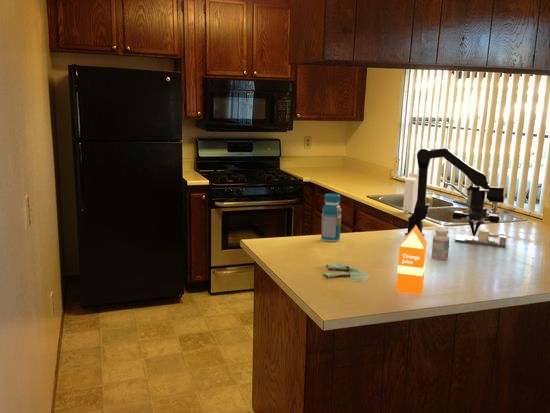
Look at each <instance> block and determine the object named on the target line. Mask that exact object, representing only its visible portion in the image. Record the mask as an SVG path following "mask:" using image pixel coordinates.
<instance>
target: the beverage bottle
mask: <svg viewBox="0 0 550 413" xmlns="http://www.w3.org/2000/svg"><path fill="white" fill-rule="evenodd" d="M339 203H341V195H340V194H339V193H325V194H324V205H323V207H322V209H321V210H322V214H321V236H320V239H321V241H324V242H330V243H334V242H339V241H340V240H341V228H342V226H341V225H342V224H341V222H342V214H341V212H342V208H341V205H340V204H339Z"/></svg>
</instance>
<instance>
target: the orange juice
mask: <svg viewBox="0 0 550 413" xmlns="http://www.w3.org/2000/svg"><path fill="white" fill-rule="evenodd" d="M422 234H423V233H422ZM422 234H421V232H420V231H419V229H418V227H417V226H416V225H415V227H414V228H413V229H412V230H411V232H410V233H409V234H408V235H406V236H405V237H404V238H403V239H402V240H401V242H400V244H399V246H398V247H399V249H398V262H397V263H398V264H397V277H396V292H399V293H404V294H405V293H406V294H407V293H408V294H413V295H420V296H421V295H422V293H423V292H422V291H423V288H424V279H425V271H426V270H425V268H426V256H427V245H428V243H427V241H426V238H424V235H423V236H422Z"/></svg>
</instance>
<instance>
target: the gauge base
mask: <svg viewBox="0 0 550 413" xmlns="http://www.w3.org/2000/svg"><path fill="white" fill-rule="evenodd" d="M455 236H456V237H455V239H454V242H455V243H460V244H461V243H462V244H469V245H478V246H486V247H495V248H502V249H506V245H507V244H506V243H507V232H502V231H499V238H495V237H488V238H489V241H487V240H479V239H478V236H476V235H475V236H473V235H466V234H465V235H464V234H459V233H457V234H456V235H455Z"/></svg>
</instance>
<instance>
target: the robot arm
mask: <svg viewBox="0 0 550 413" xmlns="http://www.w3.org/2000/svg"><path fill="white" fill-rule="evenodd" d="M437 158H438V159H439V158H443V159H445V160H447V161H448V162H449V163H450V164H451V165H452V166H454V167H455V168H456V169H458V170H459V171H461V172H462V173H463V174H464V175H465V176H466V178H468V179H469V181H470V182H471V183H472V184H470V185H469V186H468V187H467V188H466V191H469V192H470V197H469V198H470V199H469V209H468V213H464V211H461V210H454V211H453V213H452V219H453V220H461V219H466V220H465V223H468V224H469V227H470V230H471V234H472V236H476V234H477V232H478V231H479V229H480V226H481V225H483V224H485V221H489V222H490V223H492V224H499V222H500V215H499V214H495V213H489V215H487V213H488V210H487V209H485V200H487V201H488V202H489V203H500V204H503V203H504V198H505V195H504V193H505V192H504V191H505V187H504V186H491V185H490V183H489V182H488V181H487V175H486V173H485V172H483V171H480V170H479V169H477V168H474V167H473V166H471V165H469V164H468V163H467V162H465V161H464V160H462V159H461V158H460V157H459V156H457V155H456V154H455V153H454V152H452V151H451V150H449V148H448V147H442V148H434V149H433V148H432V149H430V148H428V147H423V148H421V149H419V150H418V151H417V153H416V159H417V166H418V193H417V202H416V205H415V209H414V213H413V214H409V217H408V218H407V219H408V220H407V221H408V222H407V232H404V235H406V236H407V235H408V234H409V233H410V232H411V230H412V229H413V228H414V227H415V225H416V226H417V227H418V229H419V231H420V232H421V234H422V236H423V237H424V236H425V234H424V233H423V221H424V220H425V219H426V218H427V216H428V215H429V213H430V204H431V203H430V202H427V190H428V189H427V187H428V174H429V167H430V164H431V160H433V159H437ZM473 185H474V186H473ZM480 187H481V188H480ZM485 198H486V199H485ZM475 222H476V224H475Z"/></svg>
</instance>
